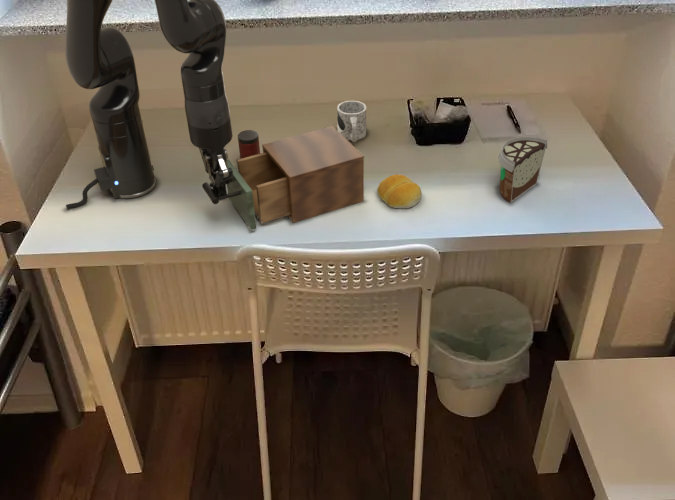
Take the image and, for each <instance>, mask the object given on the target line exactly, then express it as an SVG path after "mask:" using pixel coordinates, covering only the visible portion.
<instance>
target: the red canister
mask: <svg viewBox="0 0 675 500" xmlns="http://www.w3.org/2000/svg"><path fill="white" fill-rule="evenodd" d="M237 143H238V151H239V159H242V158H246V157H249V156H253V155H257V154H261V147H260V137H259V132H257V131H256V130H252V129H245V130H242V131H240V132H239V133H238V134H237Z"/></svg>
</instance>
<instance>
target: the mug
mask: <svg viewBox="0 0 675 500" xmlns="http://www.w3.org/2000/svg"><path fill="white" fill-rule="evenodd" d="M336 119H337V121H336V123H337V131H338V132H339V133H340V134H341V135H342V136H343V137H344V138H345V139H346V140H347V141H351V142H352V143H356V142H357V141H359V140H362V139H364V138H366V135H367V104H365V103H364V102H362V101H358V100H345V101H342V102H340V103H339V104H337V106H336Z"/></svg>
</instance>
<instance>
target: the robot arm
mask: <svg viewBox="0 0 675 500" xmlns="http://www.w3.org/2000/svg"><path fill="white" fill-rule="evenodd" d="M113 1H114V0H66V23H65V38H64V39H65V41H64V52H65V62H66V66H67V69H68V71H69V75H70V76H71V78H72V80H73V81H74V83H76V84H77V85H78V86H79V87H81V88H82V89H86V90H95V89H97V91H96V92H95V93H94V95H92V97H91V98H90V99H89V102H88V110H89V113H90V118H91V121H92V125H93V129H94V132H95V137H96V141H97V144H98V147H97V148H98V152H99V155H100V159H101V163H102V167H98V168H94V169H93V171H94V176H95V179H94V180H92V181H91V182H90V183H87V185H86V186H85V187H84V188H83V190H82V199H81V200H80V201H78V202H73V203H72V202H71V203H67V204H65V207H66V209H67V210H70V209H75V208H79V207H82V206H84V205H85V204H86V203H87V201H88V192H89V190H90V189H92V188H93V187H95V186H96V185H98V186H99V188H100V190H101V191H105V190H110V193H111V194H112V196H113V198H114V199H115V200H117V199H134V198H139V197H142V196H145V195H147V194H149V193H150V192H152V191H153V190H154V189H155V188H156V186H157V180H156V176H155V172H154V171H155V169H154V165H153V164H152V160H151V155H150V150H149V146H148V141H147V136H146V133H145V128H144V123H143V119H142V113H141V110H140V105H139V102H140V95H141V93H140V88H139V81H138V75H137V68H136V62H135V58H134V57H135V56H134V53H133V50H132V47H131V45H130V43H129V41H128V39H127V38H126V36H125V35H124V34H123V33H122V32H121V31H120V30H119V29H117V28H116V27H113V26H104V27H102V26H103V23H104V20H105V17H106V14H107V12H108V11H109V8H110V7H111V4H113V3H112V2H113ZM154 5H155V8H156V13H157V18H158V23H159V27H160V30H161V33H162V35H163V36H164V39H165V40H166V42H167V43H168V44H169V45H170V46H171V48H173V49H174V50H176V52H179V53H182V54H188V55H187V57H185V59H184V60H183V62H182V63H181V65H180V79H181V85H182V91H183V98H184V111H185V116H186V122H187V123H186V124H187V129H188V135H189V140H190V143H191V144H192V145H193V146H194V147H195V148H198V150H199V153H200V157H201V159H202V162H203V165H204V166H203V167H204V170H205V172H206V173H207V174H208V179H209V181H210V183H212V187H211V188H212V189H213V191H214V192H215V194H216V195H217V197H219V196H222V195H226V194H228V191H227V184H229V183H230V180H231V177H232V174H233V170H232V169H231V168H228V166H227V160H228V159H229V154H228V150H227V149H226V148H225V147H226V146H227V145H228V144H230V142H231V141H232V139H233V137H234V136H233V128H232V121H231V120H232V119H231V112H230V105H229V104H230V103H229V99H228V97H227V93H226V87H225V85H226V84H225V78H224V72H223V64H224V58H225V52H226V51H225V50H226V39H227V21H226V17H225V14H224V11H223V10H222V7H221V6H220V5H219V4H218V2H217V1H216V0H154Z"/></svg>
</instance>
